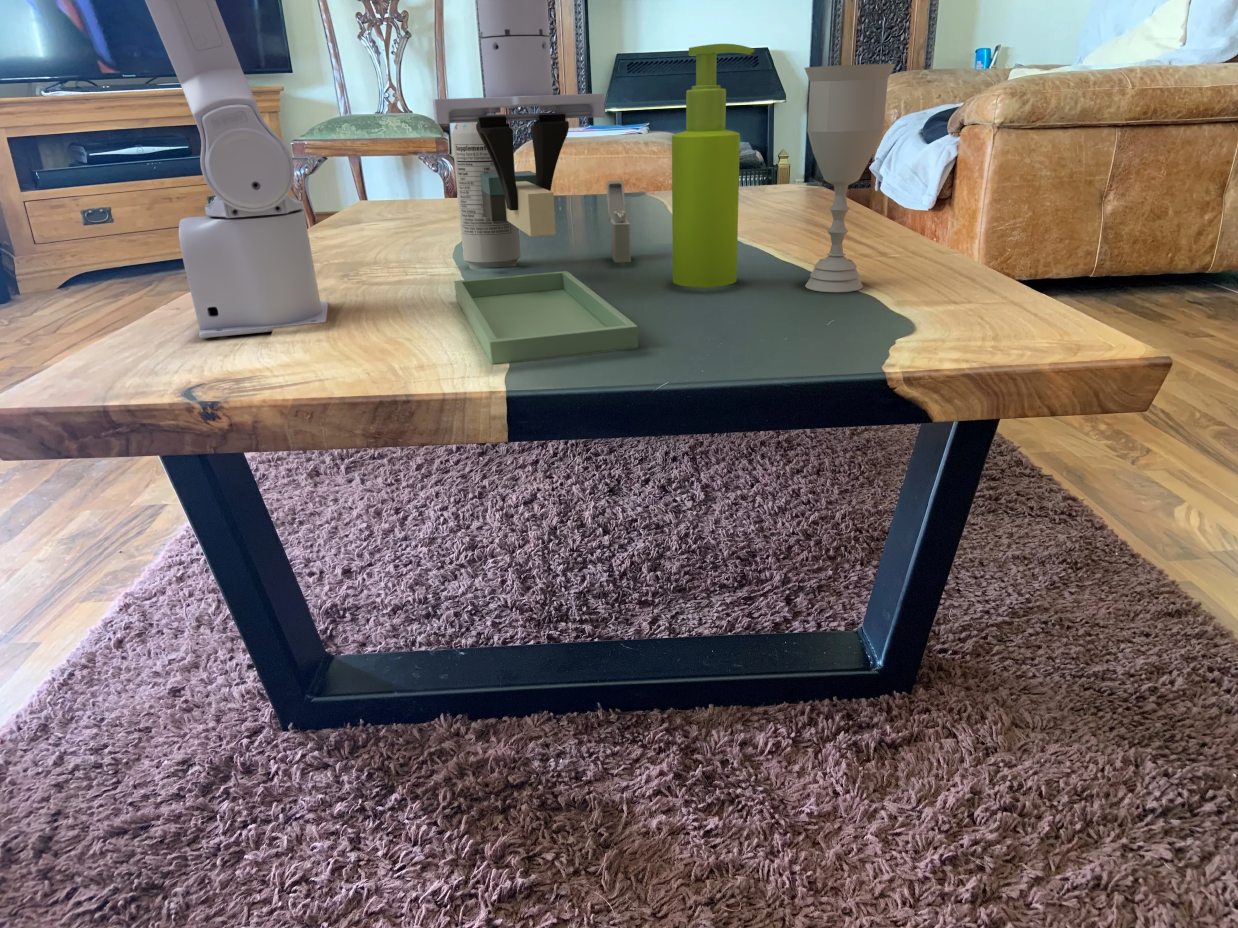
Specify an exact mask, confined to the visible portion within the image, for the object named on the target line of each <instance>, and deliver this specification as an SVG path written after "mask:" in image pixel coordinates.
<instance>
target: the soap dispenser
mask: <svg viewBox="0 0 1238 928" xmlns="http://www.w3.org/2000/svg"><path fill="white" fill-rule="evenodd" d="M754 52H756V49H754V48H753V47H749V46H745V45H742V44H734V43H713V44H712V43H711V44H703V45H696V46H691V47H688V56H690V57H695V85H692V86H691V89H687V90H686V93H685V129H686V130H683V131H680V132H677V133H675V134H673V135H671V204H672V205H671V214H672V215H671V218H672V221H671V222H672V223H671V225H672V230H671V231H672V232H671V233H672V235H671V236H672V283H673V284H674V285H678V286H682V287H687V288H719V287H726V286H730V285H733V284H735V283H736V282H737V279H738V277H737V275H738V274H737V273H738V237H739V236H738V234H739V233H738V232H739V231H738V229H739V197H740V196H739V195H740V194H739V191H740V190H739V189H740V151H741V147H740V146H741V133H739V132H738V131H735V130H730V129H726V128H727V127H726V124H727V122H726V120H727V116H726V115H727V89H726V88H722V87H721V85H720V84H717V59H718V57H717V55H718V54H729V53H733V54H743V55H748V56H751V55H753V53H754Z"/></svg>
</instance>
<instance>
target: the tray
mask: <svg viewBox="0 0 1238 928" xmlns="http://www.w3.org/2000/svg"><path fill="white" fill-rule="evenodd" d="M453 282H454V291H455V292H454V293H455V299H456V301H457V303H458V305H459V307H460V308H461V310H462V313H463V314H464V316H465V318H466V320H467V322H468V324H469V325H470V327H471V329H472V330H473V332H474V334H475V336H476V338H477V340H478V341H479V344H480V345H481V347H482V349H483V351H484V353H485V355H486V356H487V359H488V360H489V362H490V364H491V365H492V366H494V365H501V364H503V365H504V364H511V363H520V362H527V361H529V362H530V361H537V360H538V361H539V360H546V359H555V358H556V359H557V358H564V357H571V356H581V355H588V354H589V355H590V354H599V353H607V352H615V351H616V352H617V351H624V350H633V349H634V350H635V349H639V326H638V325H637V324H636V323H635V322H633V321H632V320H631V319H629V317H627V316H626V315H624V314H623V313H621V311H619V310H618V309H616V308H615V307H614V306H613V305H611V304H610V303H609V302H608V301H606V300H605V299H603V297H601V295H599V294H597V293H596V292H595V291H594V290H592V289H591V288H590V287H588V286H587V285H586V284H584V283H583V282H581V280H580V279H578V278H577V277H575V276H574V275H573V274H571V273H570V272H569V271H568V270H563V271H554V272H553V271H552V272H551V271H550V272H541V273H540V272H539V273H530V274H518V275H507V276H506V275H505V276H497V277H483V278H472V279H461V280H460V279H459V280H454V281H453Z"/></svg>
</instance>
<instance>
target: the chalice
mask: <svg viewBox="0 0 1238 928" xmlns="http://www.w3.org/2000/svg"><path fill="white" fill-rule="evenodd" d="M896 65H897V63H870V64H866V63H865V64H845V65H844V64H843V65H842V64H841V65H823V66H808V67H807V66H806V67H804V68H803V69H804V71H805V73H806V75H807V78H808V80H809V93H808V112H807V135H808V139H809V143H810V146H811V150H812V154H813V157H814V159H815V162H816V163H817V165H818V166H817V167H818V168H819V171H820V174H821V175H822V179H823V181H825V182H827V183H828V184H830V185H833V189H834V190H833V191H834V198H833V202H832V205H831V207H830V208H829V210H830V213H831V214H832V223H831V226H830V228H828V230H827V231H826V232H827V233H828V234H829V235H830V241H831V243H830V244H831V245H830V250H829V253H826V257H824V258H821V259H819V260H818V261H817V262H816V263H815V264H814V265H813V267H814V268H813V270H812V272H810V275H809V279H808V280H807V282H806V284H805V286H804V287H805V288H807V289H808V290H811V291H817V292H822V293H823V292H824V293H849V292H855V291H860V290H861V289H863V288H864V285H863V284H862V282H861V280H860V274H859V272H858V270H857V267H858V266H857V265H856V263H855V262H854V260H853V259H850V258H847V257H846V253H844V250H843V243H844V240H845V235H846V234H847V233H848V232H849V229H848V228H847V227H846V223H845V218H846V216H847V213H848V211H850V207H849V206H848V203H847V192H848V188H849V185H852V184H854V183H856V182H858V181H859V180H860V178H861V176H862V175H863V174H864V171H865V169H866V168H867V166H868V164H869V162H870V160H871V158H872V157H873V155H874V153H875V151H876V149H877V146H878V144H879V142H880V141H879V140H880V139H881V136H882V133H883V131H884V126H885V115H886V104H887V93H888V82H889V81H888V80H889V78H890V76H891V74H892V72H893V70H894V69H895V67H896Z"/></svg>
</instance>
